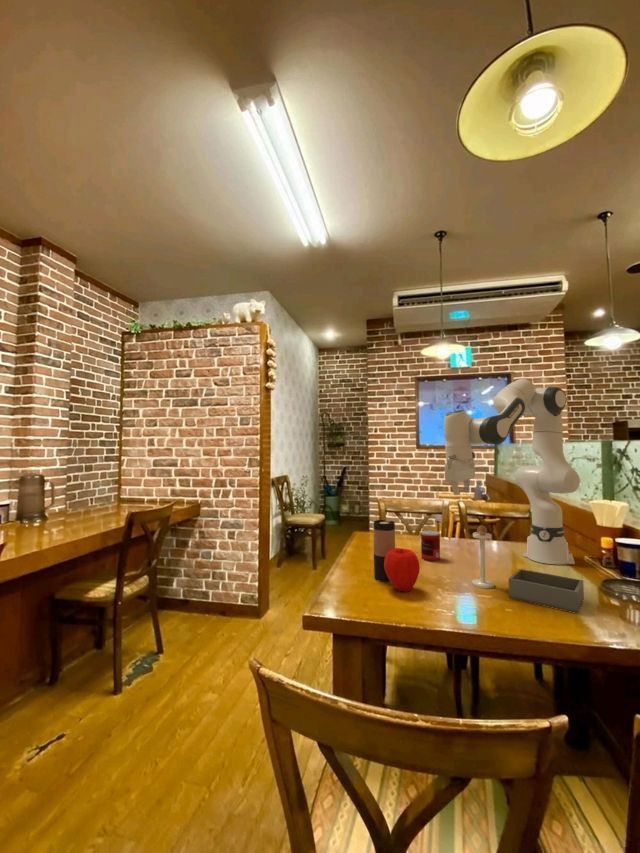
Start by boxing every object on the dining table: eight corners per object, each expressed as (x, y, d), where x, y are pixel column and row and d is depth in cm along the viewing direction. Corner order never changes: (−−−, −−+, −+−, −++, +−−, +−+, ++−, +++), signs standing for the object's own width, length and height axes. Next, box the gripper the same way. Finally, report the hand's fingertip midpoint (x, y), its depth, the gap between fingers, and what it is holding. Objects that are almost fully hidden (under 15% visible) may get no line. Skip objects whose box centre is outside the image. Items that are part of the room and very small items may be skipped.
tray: (519, 586, 132) (519, 568, 132) (583, 600, 121) (583, 580, 121) (509, 598, 122) (508, 578, 122) (577, 614, 111) (577, 592, 111)
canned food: (438, 556, 169) (437, 530, 169) (442, 562, 161) (441, 534, 161) (419, 556, 169) (419, 530, 170) (422, 561, 161) (422, 534, 162)
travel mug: (379, 583, 136) (378, 524, 137) (370, 576, 143) (370, 520, 144) (399, 581, 138) (398, 523, 139) (389, 574, 145) (389, 519, 146)
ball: (479, 533, 137) (478, 524, 137) (488, 534, 135) (488, 525, 135) (475, 535, 135) (475, 525, 135) (485, 536, 133) (485, 526, 133)
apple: (377, 585, 133) (376, 545, 133) (406, 581, 137) (406, 542, 138) (395, 598, 122) (395, 554, 122) (427, 593, 126) (427, 551, 126)
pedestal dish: (476, 580, 139) (475, 531, 140) (497, 584, 134) (496, 533, 135) (469, 585, 133) (468, 534, 134) (490, 590, 129) (489, 537, 130)
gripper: (456, 455, 133) (460, 496, 132) (476, 453, 148) (479, 490, 147) (438, 456, 137) (441, 496, 136) (460, 454, 152) (463, 490, 151)
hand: (461, 493), depth 142 cm, fingers open, 8 cm apart
